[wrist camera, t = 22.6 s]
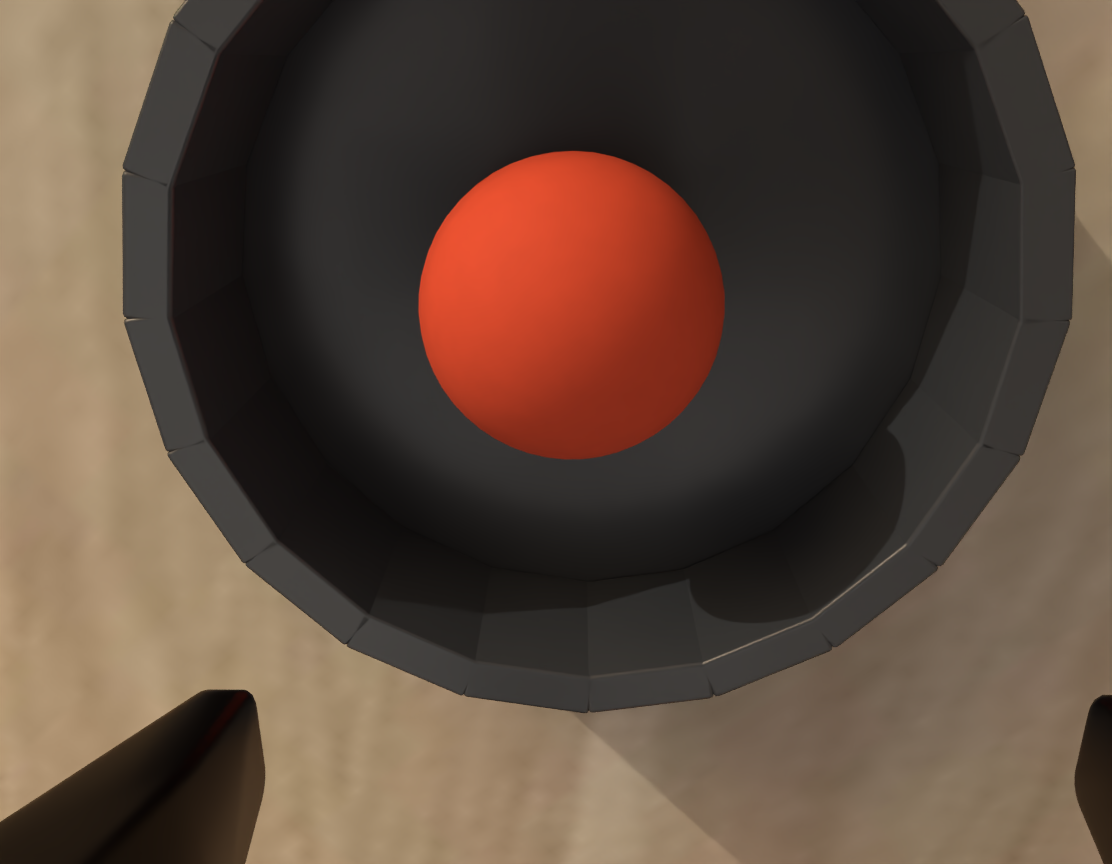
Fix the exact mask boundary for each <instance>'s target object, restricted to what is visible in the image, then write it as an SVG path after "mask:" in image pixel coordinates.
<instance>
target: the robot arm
mask: <svg viewBox="0 0 1112 864" xmlns="http://www.w3.org/2000/svg"><path fill="white" fill-rule="evenodd" d="M264 786H265V764H264V757H263V749H262V742H261V735H260V728H259V720H258V713H257V707H256V702H255V700H254V698H253V695H252V694H250V693H249V692H248V691H247V690H204V691H201V692H199V693H198V694H196V695H194V696H193V697H191V698H190V699H188V700H187V701H185V702H184V703H182V704H180V705H179V706H177V707H176V708H174V709H173V710H171V711H170V712H168V713H167V714H165V715H164V716H162V717H161V718H159V719H157V720H156V721H154V722H153V723H151V724H150V725H148V726H147V727H145V728H144V729H142V730H141V731H139V732H138V733H136V734H134V735H133V736H131V737H130V738H128V739H127V740H125V741H124V742H122V743H121V744H119V745H118V746H116V747H115V748H113V749H111V750H110V751H108V752H107V753H105V754H104V755H102V756H101V757H99V758H98V759H96V760H95V761H93V762H91V763H90V764H88V765H87V766H85V767H84V768H82V769H81V770H79V771H78V772H76V773H75V774H73V775H72V776H70V777H68V778H67V779H65V780H64V781H62V782H61V783H59V784H58V785H56V786H55V787H53V788H52V789H50V790H49V791H47V792H45V793H44V794H42V795H41V796H39V797H38V798H36V799H35V800H33V801H32V802H30V803H29V804H27V805H26V806H24V807H22V808H21V809H19V810H18V811H16V812H15V813H13V814H12V815H10V816H9V817H7V818H6V819H4V820H3V821H1V822H0V864H245V862H246V858H247V855H248V851H249V847H250V843H251V839H252V836H253V832H254V828H255V824H256V821H257V817H258V813H259V809H260V805H261V802H262V797H263V793H264ZM1075 791H1076V796H1077V800H1078V803H1079V806H1080V808H1081V811H1082V813H1083V816H1084V818H1085V820H1086V823H1087V825H1088V828H1089V830H1090V832H1091V835H1092V837H1093V840H1094V842H1095V844H1096V847H1097V849H1098V851H1099V854H1100V856H1101V859H1102V861H1103V863H1104V864H1112V695H1102V696H1100V697H1098V698H1097V699H1095V700H1094V702H1093V703H1092V705H1091V706H1090V709H1089V712H1088V716H1087V721H1086V725H1085V730H1084V734H1083V739H1082V743H1081V748H1080V752H1079V756H1078V761H1077V765H1076V770H1075Z"/></svg>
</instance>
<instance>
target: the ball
mask: <svg viewBox="0 0 1112 864" xmlns="http://www.w3.org/2000/svg"><path fill="white" fill-rule="evenodd" d="M724 314H725V295H724V287H723V280H722V273H721V270H720V266H719V263H718V259H717V256H716V253H715V250H714V248H713V245H712V243H711V241H710V238H709V236H708V234H707V232H706V230H705V229H704V227H703V225H702V224H701V222H700V220H699V219H698V217H697V215H696V214H695V213H694V212H693V210H692V209H691V208H690V207H689V205H688V204H687V203H686V202H685V201H684V199H683V198H682V197H681V196H679V195H678V194H677V193H676V192H675V191H674V190H673V189H672V188H671V187H670V186H669V185H668V184H666V183H665V182H663V181H662V180H661V179H659V178H658V177H656V176H655V175H654V174H652V173H650V172H648V171H647V170H645V169H643V168H641V167H639V166H637V165H635V164H633V163H630V162H628V161H625V160H622V159H619V158H617V157H614V156H609V155H605V154H600V153H595V152H585V151H559V152H550V153H545V154H540V155H535V156H531V157H528V158H525V159H522V160H520V161H517V162H514V163H511V164H509V165H507V166H505V167H503V168H501V169H499V170H497V171H495V172H493V173H492V174H490V175H489V176H488V177H486V178H485V179H483V180H482V181H480V182H479V183H478V184H476V185H475V186H474V187H473V188H472V189H471V190H470V191H469V192H468V193H467V194H466V195H464V196H463V197H462V198H461V199H460V201H459V202H458V203H457V204H456V205H455V207H454V208H453V209H452V210H451V211H450V213H449V214H448V215H447V216H446V218H445V219H444V221H443V223H442V224H441V226H440V228H439V229H438V231H437V233H436V235H435V237H434V239H433V242H432V244H431V246H430V249H429V251H428V254H427V257H426V261H425V264H424V268H423V272H422V275H421V282H420V289H419V320H420V328H421V335H422V339H423V343H424V347H425V351H426V355H427V357H428V360H429V362H430V365H431V367H432V370H433V372H434V374H435V376H436V378H437V380H438V381H439V383H440V385H441V387H442V389H443V390H444V391H445V393H446V394H447V395H448V397H449V398H450V400H451V401H452V402H453V404H454V405H455V406H456V407H457V408H458V409H459V410H460V411H461V412H462V413H463V414H464V416H465V417H467V418H468V419H469V420H470V421H471V422H472V423H474V424H475V425H476V426H477V427H478V428H480V429H481V430H483V431H484V432H485V433H487V434H488V435H490V436H491V437H493V438H495V439H496V440H498V441H500V442H502V443H504V444H506V445H508V446H510V447H513V448H515V449H518V450H521V451H524V452H526V453H530V454H534V455H538V456H542V457H547V458H556V459H588V458H596V457H601V456H605V455H609V454H613V453H617V452H620V451H622V450H625V449H627V448H630V447H632V446H635V445H637V444H639V443H641V442H642V441H644V440H646V439H648V438H650V437H651V436H653V435H655V434H656V433H658V432H659V431H660V430H662V429H663V428H664V427H666V426H667V425H669V424H670V423H671V422H672V421H673V420H674V419H675V418H676V417H677V416H678V415H679V414H680V413H681V412H682V411H683V410H684V409H685V408H686V407H687V405H688V404H689V403H690V402H691V400H692V399H693V398H694V396H695V395H696V394H697V393H698V391H699V389H700V388H701V386H702V384H703V383H704V381H705V379H706V378H707V376H708V374H709V372H710V370H711V367H712V365H713V363H714V360H715V358H716V355H717V351H718V347H719V344H720V340H721V336H722V329H723V322H724Z"/></svg>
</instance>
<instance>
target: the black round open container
mask: <svg viewBox="0 0 1112 864" xmlns="http://www.w3.org/2000/svg"><path fill="white" fill-rule="evenodd" d="M1024 14H1025V12H1024V10H1023V8H1022V7H1021V6H1020V5H1019V3H1018V2H1017V1H1016V0H185V1H184V2H183V4H182V5H181V6H180V8H179V9H178V10H177V11H176V13H175V14H174V17H173V18H174V20H172V21H171V22H170V24H169V27H168V30H167V33H166V36H165V39H164V42H163V45H162V48H161V51H160V54H159V57H158V60H157V63H156V66H155V69H154V72H153V75H152V78H151V81H150V84H149V87H148V90H147V93H146V96H145V99H144V102H143V105H142V108H141V111H140V114H139V117H138V120H137V123H136V126H135V130H134V133H133V136H132V139H131V142H130V145H129V148H128V151H127V154H126V157H125V160H124V163H123V169H124V170H125V171H124V172H123V175H122V218H123V315H124V317H126V319H125V327H126V330H127V333H128V336H129V339H130V342H131V345H132V348H133V351H134V355H135V358H136V361H137V364H138V367H139V370H140V373H141V376H142V379H143V382H144V385H145V388H146V391H147V394H148V397H149V400H150V403H151V406H152V409H153V412H154V416H155V419H156V422H157V425H158V428H159V431H160V434H161V437H162V440H163V443H164V446H165V449H166V450H167V451H169V453H168V457H169V458H170V460H171V461H172V463H173V464H174V466H175V467H176V468H177V470H178V471H179V473H180V474H181V476H182V477H183V478H184V480H185V481H186V483H187V484H188V485H189V487H190V488H191V490H192V491H193V493H194V494H195V495H196V497H197V498H198V500H199V501H200V503H201V504H202V505H203V507H204V508H205V510H206V511H207V513H208V514H209V515H210V517H211V518H212V520H213V521H214V522H215V524H216V525H217V527H218V528H219V530H220V531H221V532H222V534H223V535H224V537H225V538H226V540H227V541H228V542H229V544H230V545H231V547H232V548H233V550H234V551H235V552H236V554H237V555H238V557H239V558H240V559H241V561H242V562H243V563H246V566H247V567H248V568H249V569H251V570H252V571H253V572H254V573H256V574H257V575H258V576H259V577H261V578H262V579H263V580H264V581H266V582H267V583H268V584H269V585H271V586H272V587H273V588H274V589H275V590H277V591H278V592H279V593H280V594H282V595H283V596H284V597H285V598H287V599H288V600H289V601H290V602H292V603H293V604H294V605H295V606H297V607H298V608H299V609H300V610H302V611H303V612H304V613H305V614H307V615H308V616H309V617H310V618H312V619H313V620H314V621H315V622H317V623H318V624H319V625H320V626H322V627H323V628H324V629H325V630H327V631H328V632H329V633H330V634H332V635H333V636H334V637H335V638H337V639H338V640H339V641H340V642H342V643H343V644H347V646H348V647H349V648H351V649H354V650H356V651H358V652H361V653H363V654H365V655H368V656H370V657H372V658H375V659H377V660H379V661H382V662H384V663H386V664H389V665H391V666H393V667H396V668H398V669H400V670H403V671H405V672H407V673H410V674H412V675H414V676H417V677H419V678H421V679H424V680H426V681H428V682H431V683H433V684H436V685H438V686H440V687H443V688H445V689H447V690H450V691H452V692H454V693H457V694H459V695H463V694H464V695H465V696H467V697H474V698H481V699H488V700H495V701H502V702H509V703H516V704H523V705H531V706H538V707H545V708H552V709H559V710H566V711H573V712H580V713H587V712H588V711H590V712H601V711H610V710H618V709H626V708H634V707H642V706H651V705H659V704H667V703H675V702H683V701H692V700H700V699H708V698H711V697H712V696H713V694H714V695H715V696H720V695H722V694H725V693H727V692H730V691H732V690H735V689H737V688H740V687H742V686H745V685H747V684H750V683H752V682H754V681H757V680H759V679H762V678H764V677H767V676H769V675H772V674H774V673H777V672H779V671H782V670H784V669H787V668H789V667H792V666H794V665H796V664H799V663H801V662H804V661H806V660H809V659H811V658H814V657H816V656H819V655H821V654H824V653H826V652H829V651H830V650H832V646H833V647H838V646H839V645H841V644H842V643H843V642H844V641H846V640H847V639H848V638H850V637H851V636H852V635H854V634H855V633H856V632H858V631H859V630H860V629H861V628H863V627H864V626H865V625H867V624H868V623H869V622H871V621H872V620H873V619H874V618H876V617H877V616H878V615H880V614H881V613H882V612H884V611H885V610H886V609H888V608H889V607H890V606H891V605H893V604H894V603H895V602H897V601H898V600H899V599H901V598H902V597H903V596H904V595H906V594H907V593H908V592H910V591H911V590H912V589H914V588H915V587H916V586H918V585H919V584H920V583H921V582H923V581H924V580H925V579H927V578H928V577H929V576H931V575H932V574H933V573H934V572H936V571H937V569H938V567H937V566H941V565H943V564H944V562H945V561H946V560H947V558H948V557H949V556H950V554H951V553H952V552H953V550H954V549H955V547H956V546H957V545H958V543H959V542H960V541H961V539H962V538H963V537H964V535H965V534H966V533H967V531H968V530H969V529H970V527H971V526H972V524H973V523H974V522H975V520H976V519H977V518H978V516H979V515H980V514H981V512H982V511H983V510H984V508H985V507H986V506H987V504H988V503H989V501H990V500H991V499H992V497H993V496H994V495H995V493H996V492H997V491H998V489H999V488H1000V487H1001V485H1002V484H1003V483H1004V481H1005V480H1006V478H1007V477H1008V476H1009V474H1010V473H1011V472H1012V470H1013V469H1014V468H1015V466H1016V465H1017V464H1018V462H1019V461H1020V456H1021V455H1023V454H1024V452H1025V449H1026V447H1027V444H1028V441H1029V438H1030V435H1031V432H1032V430H1033V427H1034V424H1035V421H1036V418H1037V416H1038V413H1039V410H1040V407H1041V404H1042V401H1043V399H1044V396H1045V393H1046V390H1047V387H1048V385H1049V382H1050V379H1051V376H1052V373H1053V370H1054V368H1055V365H1056V362H1057V359H1058V356H1059V354H1060V351H1061V348H1062V345H1063V342H1064V339H1065V337H1066V334H1067V331H1068V328H1069V325H1070V321H1069V320H1071V318H1072V296H1073V259H1074V221H1075V184H1076V170H1075V168H1074V167H1075V163H1074V160H1073V157H1072V154H1071V151H1070V147H1069V144H1068V141H1067V138H1066V135H1065V132H1064V129H1063V125H1062V122H1061V119H1060V116H1059V113H1058V110H1057V107H1056V103H1055V100H1054V97H1053V94H1052V91H1051V88H1050V84H1049V81H1048V78H1047V75H1046V72H1045V69H1044V66H1043V62H1042V59H1041V56H1040V53H1039V50H1038V47H1037V44H1036V40H1035V37H1034V34H1033V31H1032V28H1031V25H1030V21H1029V18H1028V17H1027V16H1026V15H1024ZM559 151H585V152H595V153H600V154H605V155H609V156H614V157H617V158H619V159H622V160H625V161H628V162H630V163H633V164H635V165H637V166H639V167H641V168H643V169H645V170H647V171H648V172H650V173H652V174H654V175H655V176H656V177H658V178H659V179H661V180H662V181H663V182H665V183H666V184H668V185H669V186H670V187H671V188H672V189H673V190H674V191H675V192H676V193H677V194H678V195H679V196H681V197H682V198H683V199H684V201H685V202H686V203H687V204H688V205H689V207H690V208H691V209H692V210H693V212H694V213H695V214H696V215H697V217H698V219H699V220H700V222H701V224H702V225H703V227H704V229H705V230H706V232H707V234H708V236H709V238H710V241H711V243H712V245H713V248H714V250H715V253H716V256H717V259H718V263H719V266H720V270H721V273H722V280H723V287H724V295H725V314H724V322H723V329H722V336H721V340H720V344H719V347H718V351H717V355H716V358H715V360H714V363H713V365H712V367H711V370H710V372H709V374H708V376H707V378H706V379H705V381H704V383H703V384H702V386H701V388H700V389H699V391H698V393H697V394H696V395H695V396H694V398H693V399H692V400H691V402H690V403H689V404H688V405H687V407H686V408H685V409H684V410H683V411H682V412H681V413H680V414H679V415H678V416H677V417H676V418H675V419H674V420H673V421H672V422H671V423H670V424H669V425H667V426H666V427H664V428H663V429H662V430H660V431H659V432H658V433H656V434H655V435H653V436H651V437H650V438H648V439H646V440H644V441H642V442H641V443H639V444H637V445H635V446H632V447H630V448H627V449H625V450H622V451H620V452H617V453H613V454H609V455H605V456H601V457H596V458H588V459H556V458H547V457H542V456H538V455H534V454H530V453H526V452H524V451H521V450H518V449H515V448H513V447H510V446H508V445H506V444H504V443H502V442H500V441H498V440H496V439H495V438H493V437H491V436H490V435H488V434H487V433H485V432H484V431H483V430H481V429H480V428H478V427H477V426H476V425H475V424H474V423H472V422H471V421H470V420H469V419H468V418H467V417H465V416H464V414H463V413H462V412H461V411H460V410H459V409H458V408H457V407H456V406H455V405H454V404H453V402H452V401H451V400H450V398H449V397H448V395H447V394H446V393H445V391H444V390H443V389H442V387H441V385H440V383H439V381H438V380H437V378H436V376H435V374H434V372H433V370H432V367H431V365H430V362H429V360H428V357H427V355H426V351H425V347H424V343H423V339H422V335H421V328H420V320H419V289H420V282H421V275H422V272H423V268H424V264H425V261H426V257H427V254H428V251H429V249H430V246H431V244H432V242H433V239H434V237H435V235H436V233H437V231H438V229H439V228H440V226H441V224H442V223H443V221H444V219H445V218H446V216H447V215H448V214H449V213H450V211H451V210H452V209H453V208H454V207H455V205H456V204H457V203H458V202H459V201H460V199H461V198H462V197H463V196H464V195H466V194H467V193H468V192H469V191H470V190H471V189H472V188H473V187H474V186H475V185H476V184H478V183H479V182H480V181H482V180H483V179H485V178H486V177H488V176H489V175H490V174H492V173H493V172H495V171H497V170H499V169H501V168H503V167H505V166H507V165H509V164H511V163H514V162H517V161H520V160H522V159H525V158H528V157H531V156H535V155H540V154H545V153H550V152H559Z"/></svg>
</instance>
